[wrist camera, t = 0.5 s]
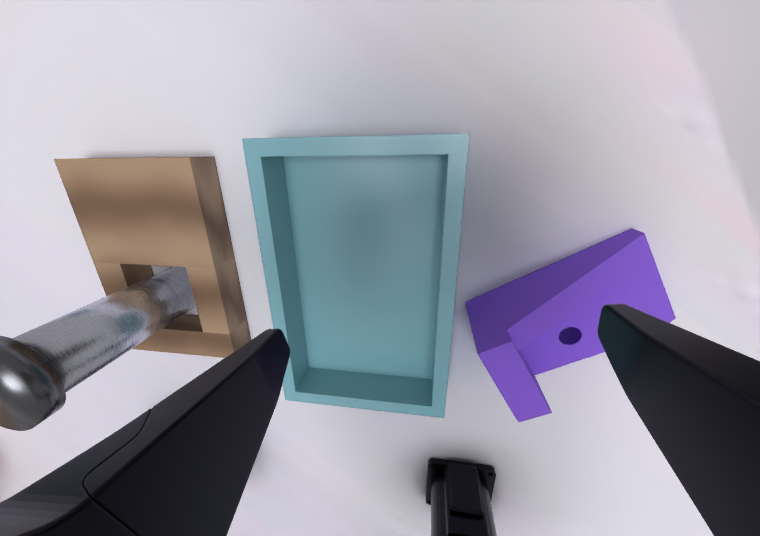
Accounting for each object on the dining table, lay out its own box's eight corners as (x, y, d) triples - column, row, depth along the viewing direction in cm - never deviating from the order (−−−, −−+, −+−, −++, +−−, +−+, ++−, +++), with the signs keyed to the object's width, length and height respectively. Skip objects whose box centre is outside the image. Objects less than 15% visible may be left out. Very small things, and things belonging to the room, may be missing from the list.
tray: (442, 381, 26) (444, 418, 23) (303, 367, 28) (285, 400, 25) (461, 137, 19) (469, 133, 16) (274, 141, 21) (242, 138, 17)
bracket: (501, 363, 25) (525, 433, 19) (464, 300, 24) (477, 354, 17) (659, 307, 22) (754, 370, 15) (629, 227, 20) (721, 262, 14)
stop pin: (217, 313, 28) (55, 436, 16) (167, 309, 28) (-23, 424, 16) (204, 260, 26) (9, 354, 14) (152, 258, 26) (-77, 345, 14)
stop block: (251, 341, 28) (235, 358, 26) (150, 333, 30) (126, 348, 27) (213, 156, 22) (189, 157, 20) (90, 158, 24) (53, 159, 22)
